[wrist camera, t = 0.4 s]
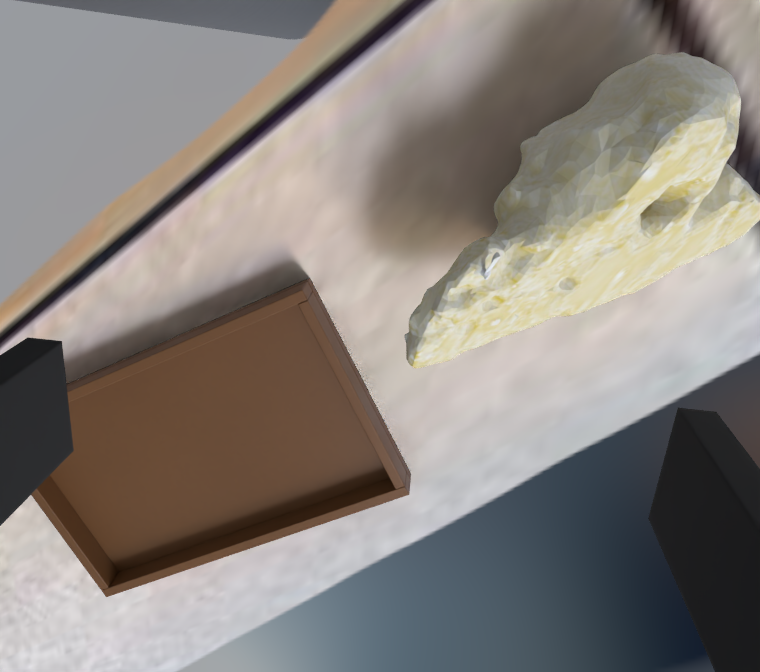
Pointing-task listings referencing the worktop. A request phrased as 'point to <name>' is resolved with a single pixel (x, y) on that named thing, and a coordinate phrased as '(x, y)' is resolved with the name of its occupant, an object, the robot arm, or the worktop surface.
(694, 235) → the cheese
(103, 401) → the holder
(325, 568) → the worktop surface
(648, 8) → the worktop surface
